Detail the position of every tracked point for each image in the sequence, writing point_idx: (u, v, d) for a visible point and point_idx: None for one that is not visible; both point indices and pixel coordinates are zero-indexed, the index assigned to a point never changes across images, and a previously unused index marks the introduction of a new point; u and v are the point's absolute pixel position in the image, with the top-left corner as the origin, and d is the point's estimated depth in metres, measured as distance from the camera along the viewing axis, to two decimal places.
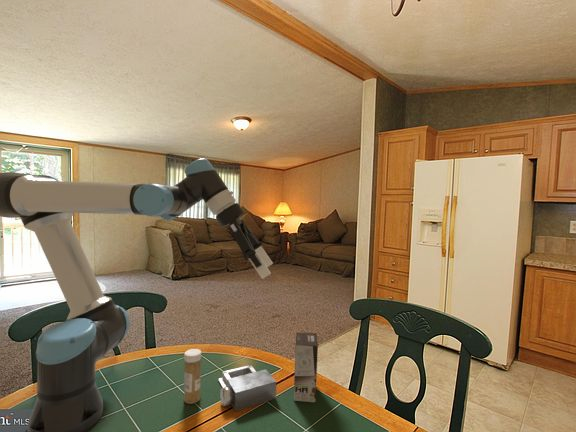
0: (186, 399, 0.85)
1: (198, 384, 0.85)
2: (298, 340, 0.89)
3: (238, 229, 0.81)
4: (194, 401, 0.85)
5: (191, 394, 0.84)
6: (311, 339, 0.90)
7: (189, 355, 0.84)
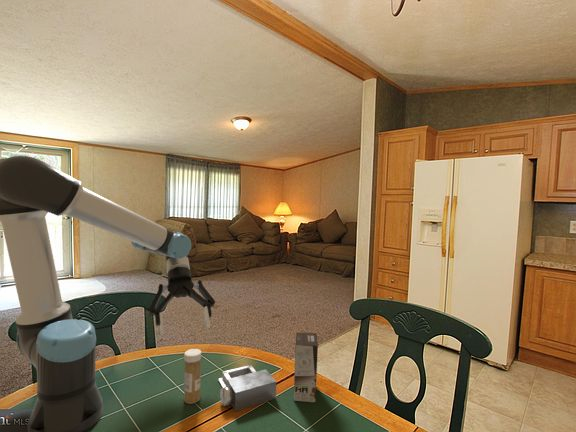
0: (186, 399, 0.85)
1: (198, 384, 0.85)
2: (298, 340, 0.89)
3: None
4: (194, 401, 0.85)
5: (191, 394, 0.84)
6: (311, 339, 0.90)
7: (189, 355, 0.84)
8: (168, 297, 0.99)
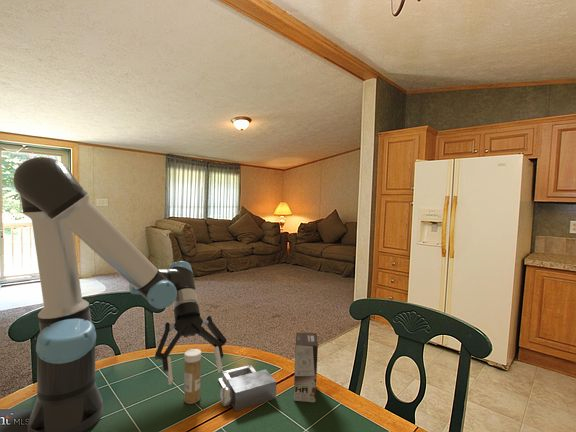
0: (186, 399, 0.85)
1: (198, 384, 0.85)
2: (298, 340, 0.89)
3: None
4: (194, 401, 0.85)
5: (191, 394, 0.84)
6: (311, 339, 0.90)
7: (189, 355, 0.84)
8: (176, 338, 0.90)
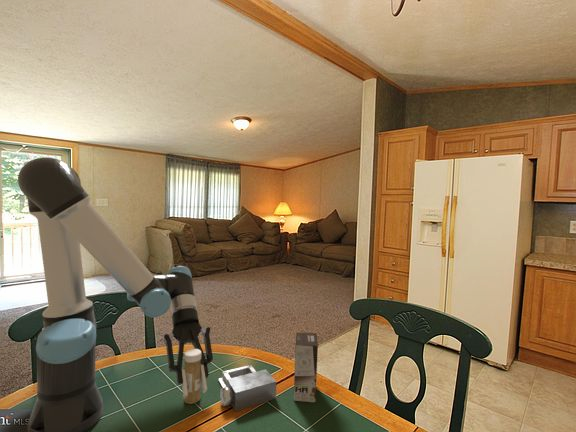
0: (186, 399, 0.85)
1: (198, 384, 0.85)
2: (298, 340, 0.89)
3: None
4: (194, 401, 0.85)
5: (191, 394, 0.84)
6: (311, 339, 0.90)
7: (189, 355, 0.84)
8: (181, 347, 0.88)
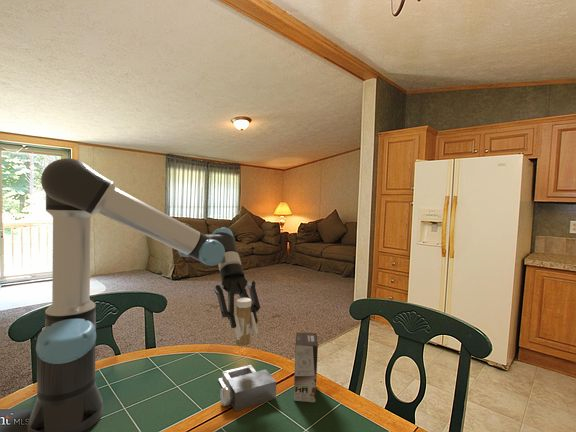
0: (238, 342, 0.92)
1: (249, 328, 0.93)
2: (298, 340, 0.89)
3: None
4: (246, 344, 0.92)
5: (243, 337, 0.92)
6: (311, 339, 0.90)
7: (241, 301, 0.92)
8: (232, 296, 0.96)
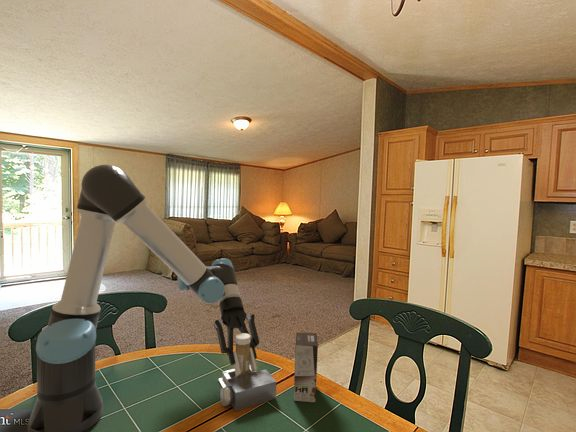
0: None
1: (248, 365, 0.93)
2: (298, 340, 0.89)
3: None
4: None
5: (242, 374, 0.92)
6: (311, 339, 0.90)
7: (240, 338, 0.92)
8: (231, 332, 0.96)
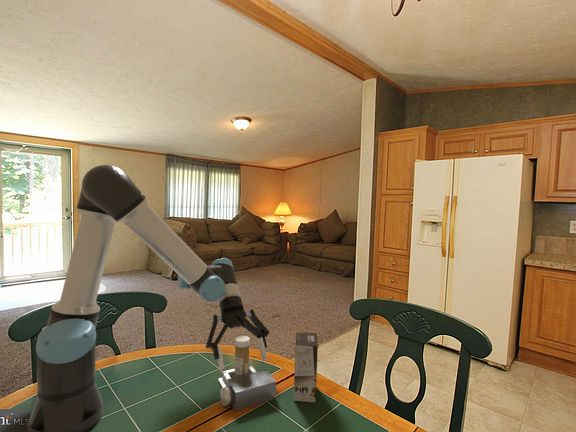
0: None
1: (247, 367, 0.93)
2: (298, 340, 0.89)
3: None
4: None
5: None
6: (311, 339, 0.90)
7: (239, 340, 0.92)
8: (224, 329, 0.97)
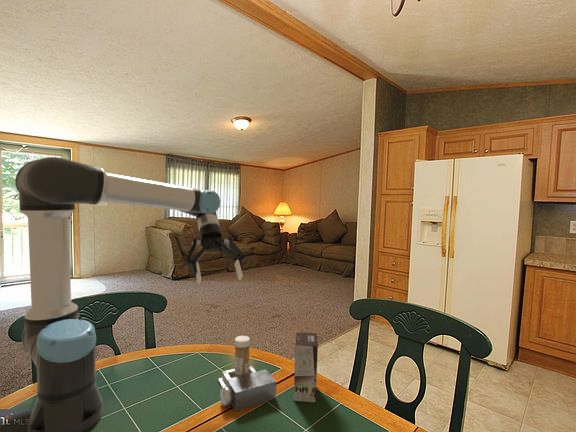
0: None
1: (247, 367, 0.93)
2: (298, 340, 0.89)
3: None
4: None
5: None
6: (311, 339, 0.90)
7: (239, 340, 0.92)
8: (202, 250, 1.04)
